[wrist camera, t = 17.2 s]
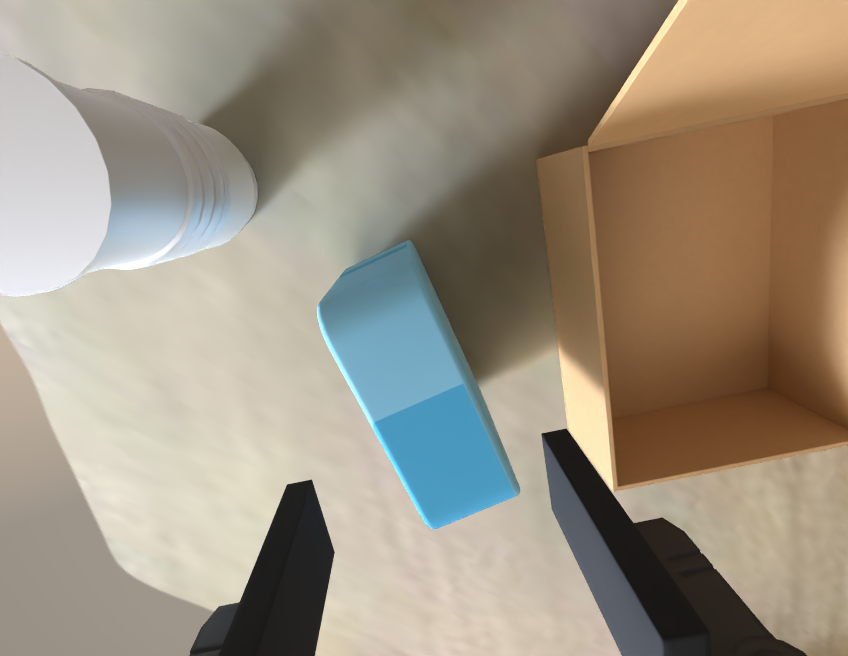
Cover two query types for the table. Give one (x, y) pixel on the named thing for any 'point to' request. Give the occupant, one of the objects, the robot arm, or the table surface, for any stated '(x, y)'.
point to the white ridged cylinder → (106, 183)
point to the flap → (731, 64)
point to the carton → (703, 292)
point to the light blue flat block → (416, 386)
